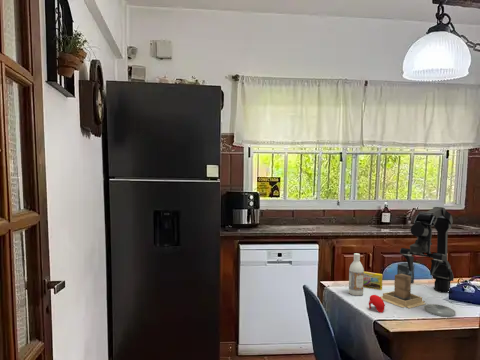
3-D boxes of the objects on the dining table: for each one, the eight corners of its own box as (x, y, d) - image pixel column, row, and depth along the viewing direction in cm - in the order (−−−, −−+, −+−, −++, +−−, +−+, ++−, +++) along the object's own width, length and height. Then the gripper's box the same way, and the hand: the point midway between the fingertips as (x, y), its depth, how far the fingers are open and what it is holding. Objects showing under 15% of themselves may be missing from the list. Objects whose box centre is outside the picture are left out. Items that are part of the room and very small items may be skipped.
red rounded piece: (363, 299, 160) (368, 296, 155) (374, 294, 162) (379, 291, 157) (373, 316, 157) (378, 314, 152) (384, 311, 158) (390, 308, 153)
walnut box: (400, 298, 172) (401, 273, 172) (410, 301, 168) (411, 276, 168) (394, 299, 170) (394, 274, 170) (403, 303, 165) (404, 277, 165)
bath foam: (353, 296, 174) (354, 255, 173) (346, 291, 180) (346, 252, 180) (366, 295, 175) (367, 255, 175) (358, 291, 182) (359, 252, 182)
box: (406, 285, 193) (406, 266, 193) (396, 282, 198) (397, 263, 198) (414, 283, 197) (414, 264, 197) (404, 280, 202) (405, 262, 202)
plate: (443, 306, 163) (443, 303, 162) (462, 316, 151) (462, 314, 151) (418, 306, 161) (418, 304, 161) (435, 317, 149) (435, 314, 149)
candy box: (349, 285, 192) (350, 269, 192) (350, 284, 194) (351, 269, 194) (381, 290, 184) (381, 274, 184) (382, 289, 185) (382, 273, 185)
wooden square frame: (398, 293, 180) (398, 288, 180) (428, 303, 166) (429, 298, 166) (376, 297, 172) (376, 292, 172) (406, 309, 158) (406, 303, 158)
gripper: (395, 234, 166) (391, 268, 164) (437, 239, 151) (434, 276, 149) (407, 237, 173) (403, 269, 170) (448, 242, 158) (445, 278, 156)
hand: (420, 273), depth 161 cm, fingers open, 9 cm apart
